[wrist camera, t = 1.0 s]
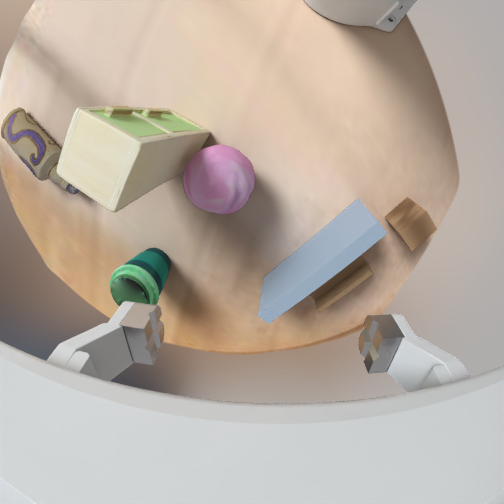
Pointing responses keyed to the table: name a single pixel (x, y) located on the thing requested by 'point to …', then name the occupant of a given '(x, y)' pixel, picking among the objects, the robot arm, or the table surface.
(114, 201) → the toy refrigerator
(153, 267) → the cup
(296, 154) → the table surface
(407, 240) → the tan wooden cube
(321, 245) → the wall board
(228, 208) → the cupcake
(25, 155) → the decorative bottle
